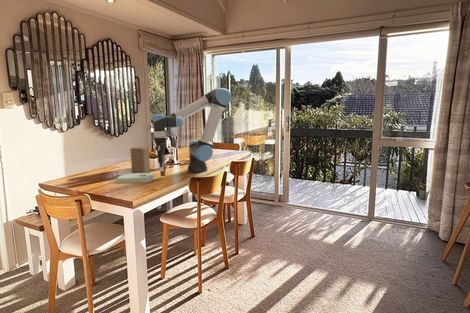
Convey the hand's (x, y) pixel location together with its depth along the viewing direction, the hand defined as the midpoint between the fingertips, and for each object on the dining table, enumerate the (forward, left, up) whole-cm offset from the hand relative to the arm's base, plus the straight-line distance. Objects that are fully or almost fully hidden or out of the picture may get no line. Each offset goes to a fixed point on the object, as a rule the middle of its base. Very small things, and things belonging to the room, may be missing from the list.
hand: (162, 170), depth 206 cm
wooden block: (+20, -16, -6) cm, 26 cm away
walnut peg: (0, 0, -4) cm, 4 cm away
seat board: (+18, +2, -6) cm, 19 cm away
